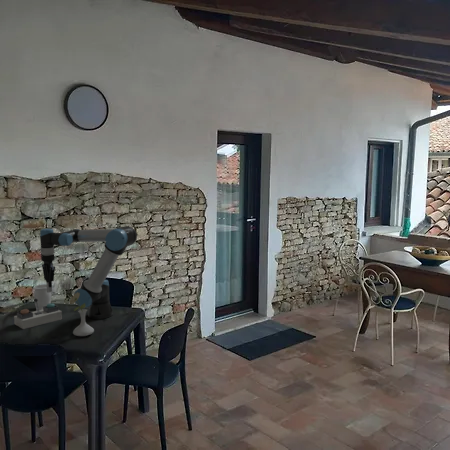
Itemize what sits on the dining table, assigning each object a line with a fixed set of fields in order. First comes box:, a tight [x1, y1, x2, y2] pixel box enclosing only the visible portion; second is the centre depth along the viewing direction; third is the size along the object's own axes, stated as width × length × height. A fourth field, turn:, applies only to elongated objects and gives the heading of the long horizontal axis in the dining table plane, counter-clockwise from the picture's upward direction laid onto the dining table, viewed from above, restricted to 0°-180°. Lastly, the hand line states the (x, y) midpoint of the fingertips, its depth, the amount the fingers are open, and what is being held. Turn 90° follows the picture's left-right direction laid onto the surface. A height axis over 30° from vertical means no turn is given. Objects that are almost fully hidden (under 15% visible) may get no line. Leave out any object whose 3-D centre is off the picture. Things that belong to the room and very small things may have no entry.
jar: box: [33, 283, 52, 310], centre depth 310 cm, size 11×10×15 cm
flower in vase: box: [68, 292, 95, 337], centre depth 262 cm, size 13×11×25 cm
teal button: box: [47, 302, 55, 309], centre depth 290 cm, size 4×4×2 cm
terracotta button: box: [20, 308, 30, 315], centre depth 279 cm, size 4×4×2 cm
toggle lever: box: [33, 298, 39, 312], centre depth 285 cm, size 2×2×8 cm
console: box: [13, 304, 63, 330], centre depth 285 cm, size 12×24×8 cm, turn 136°
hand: (49, 291), depth 289 cm, fingers closed
